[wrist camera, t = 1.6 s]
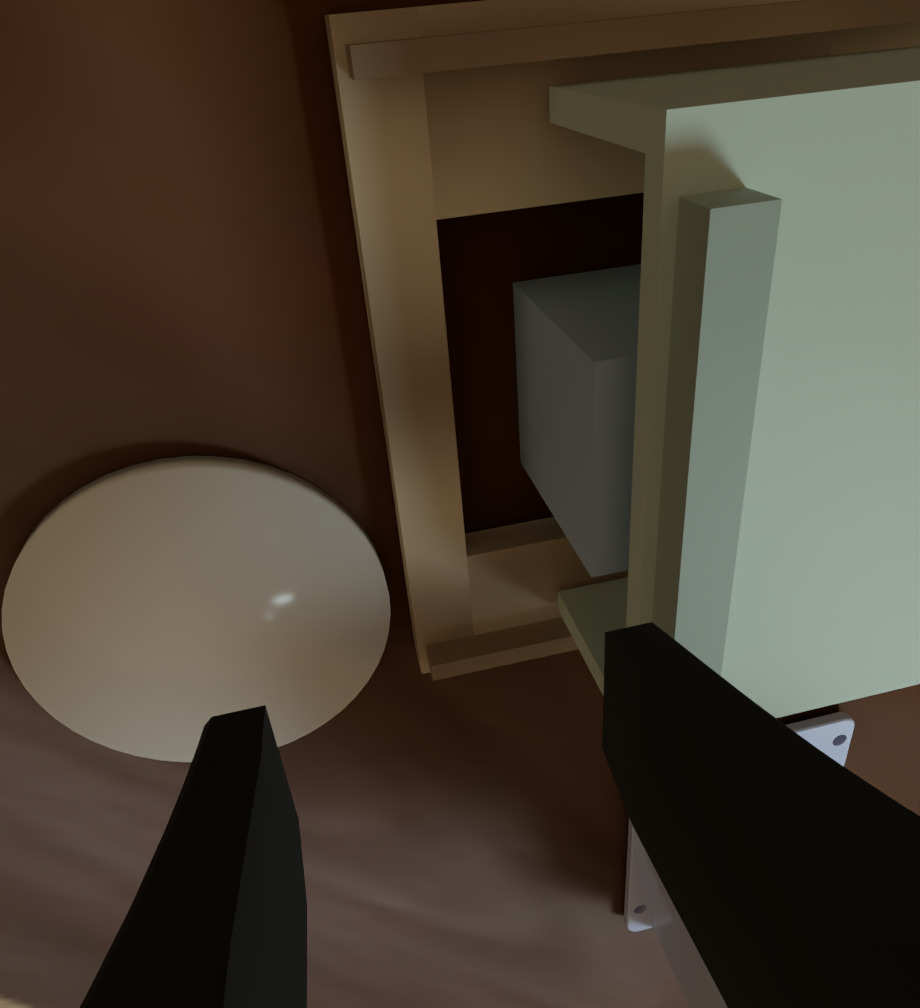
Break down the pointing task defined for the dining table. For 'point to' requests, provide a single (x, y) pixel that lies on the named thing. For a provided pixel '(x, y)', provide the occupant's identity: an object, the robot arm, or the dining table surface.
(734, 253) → the sliding cover
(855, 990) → the robot arm
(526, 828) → the dining table surface
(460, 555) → the beige open frame
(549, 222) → the dining table surface
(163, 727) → the cream saucer
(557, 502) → the slate-blue block
